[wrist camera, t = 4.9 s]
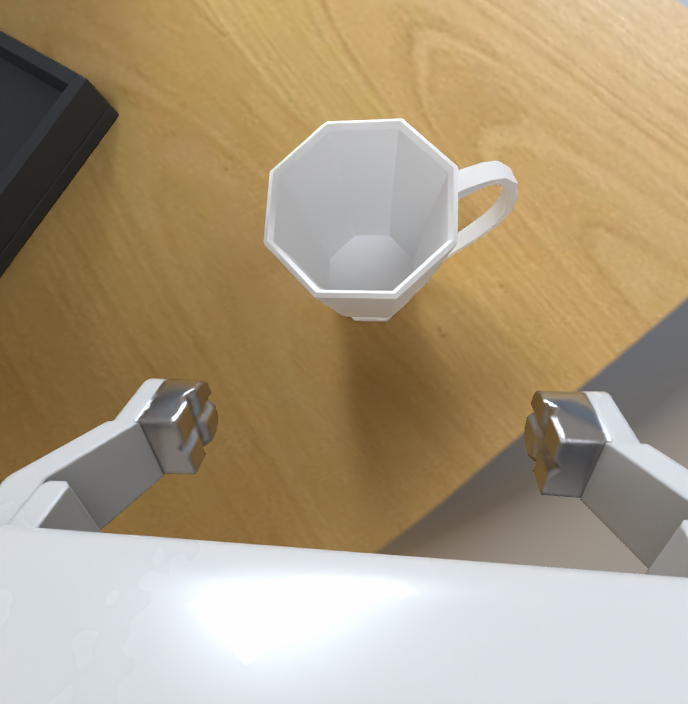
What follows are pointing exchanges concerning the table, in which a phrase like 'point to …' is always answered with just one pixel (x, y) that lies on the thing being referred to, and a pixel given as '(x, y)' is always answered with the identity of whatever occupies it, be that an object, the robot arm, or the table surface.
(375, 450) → the table surface
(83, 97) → the tray
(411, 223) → the cup
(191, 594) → the robot arm
